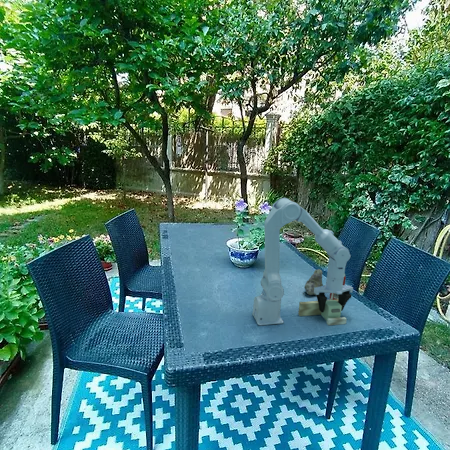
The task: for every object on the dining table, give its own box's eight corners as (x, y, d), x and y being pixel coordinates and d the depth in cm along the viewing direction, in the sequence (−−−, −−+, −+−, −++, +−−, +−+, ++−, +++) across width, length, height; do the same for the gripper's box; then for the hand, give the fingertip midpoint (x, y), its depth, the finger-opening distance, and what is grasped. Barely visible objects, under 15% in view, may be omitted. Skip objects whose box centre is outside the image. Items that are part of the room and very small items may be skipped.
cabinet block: (328, 322, 106) (330, 307, 104) (321, 315, 111) (322, 300, 109) (341, 321, 107) (343, 307, 105) (333, 314, 112) (335, 299, 110)
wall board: (308, 327, 103) (310, 314, 101) (298, 314, 111) (299, 302, 110) (349, 323, 106) (351, 311, 105) (336, 311, 114) (337, 299, 113)
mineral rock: (307, 298, 124) (310, 276, 121) (292, 288, 133) (294, 267, 131) (331, 294, 129) (334, 272, 126) (315, 284, 138) (317, 264, 136)
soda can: (331, 295, 127) (335, 269, 124) (344, 299, 124) (347, 273, 121) (327, 300, 123) (330, 273, 120) (339, 304, 120) (343, 276, 117)
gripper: (322, 282, 100) (318, 317, 104) (360, 280, 103) (354, 314, 106) (312, 273, 107) (308, 307, 110) (348, 272, 110) (343, 305, 113)
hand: (330, 310), depth 109 cm, fingers open, 7 cm apart
